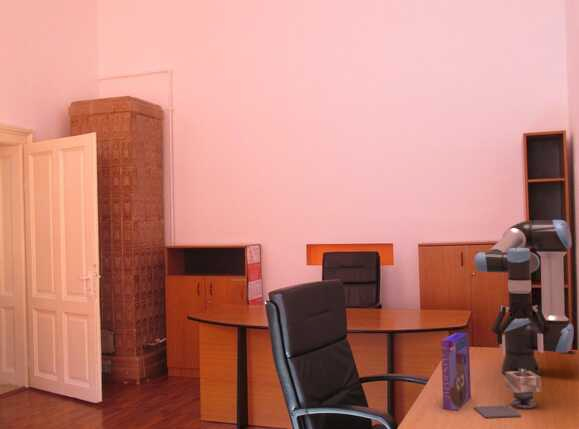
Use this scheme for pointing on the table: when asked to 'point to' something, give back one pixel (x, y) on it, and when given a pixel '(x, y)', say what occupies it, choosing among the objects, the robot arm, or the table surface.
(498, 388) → the table surface
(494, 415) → the rubber mat
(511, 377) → the square frame
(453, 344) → the cereal box
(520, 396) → the steel stand
